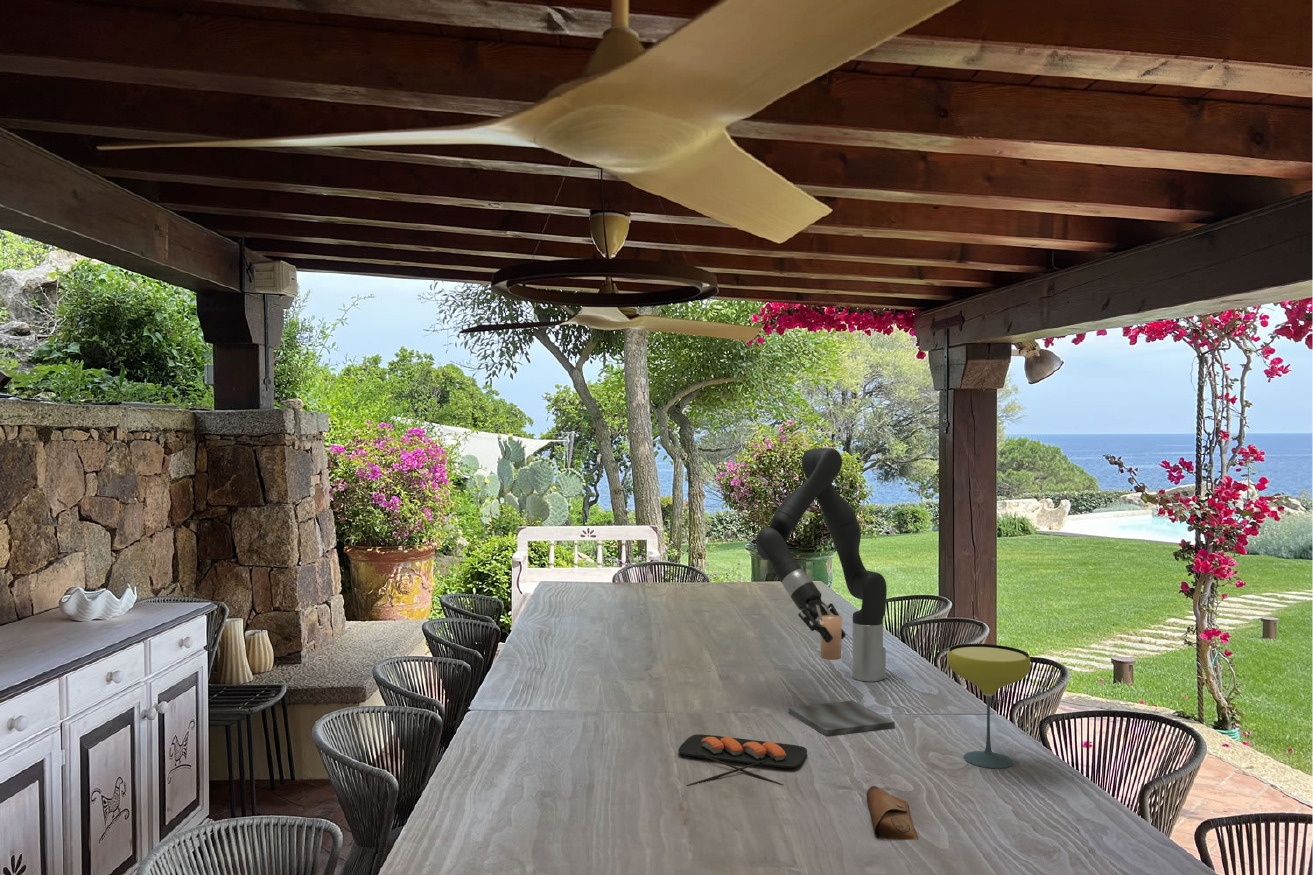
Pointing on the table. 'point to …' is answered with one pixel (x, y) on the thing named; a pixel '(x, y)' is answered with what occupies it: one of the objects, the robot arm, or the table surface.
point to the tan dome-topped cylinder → (835, 629)
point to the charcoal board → (841, 718)
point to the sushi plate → (742, 753)
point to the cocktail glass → (989, 684)
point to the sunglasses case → (890, 815)
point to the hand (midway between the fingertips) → (836, 639)
